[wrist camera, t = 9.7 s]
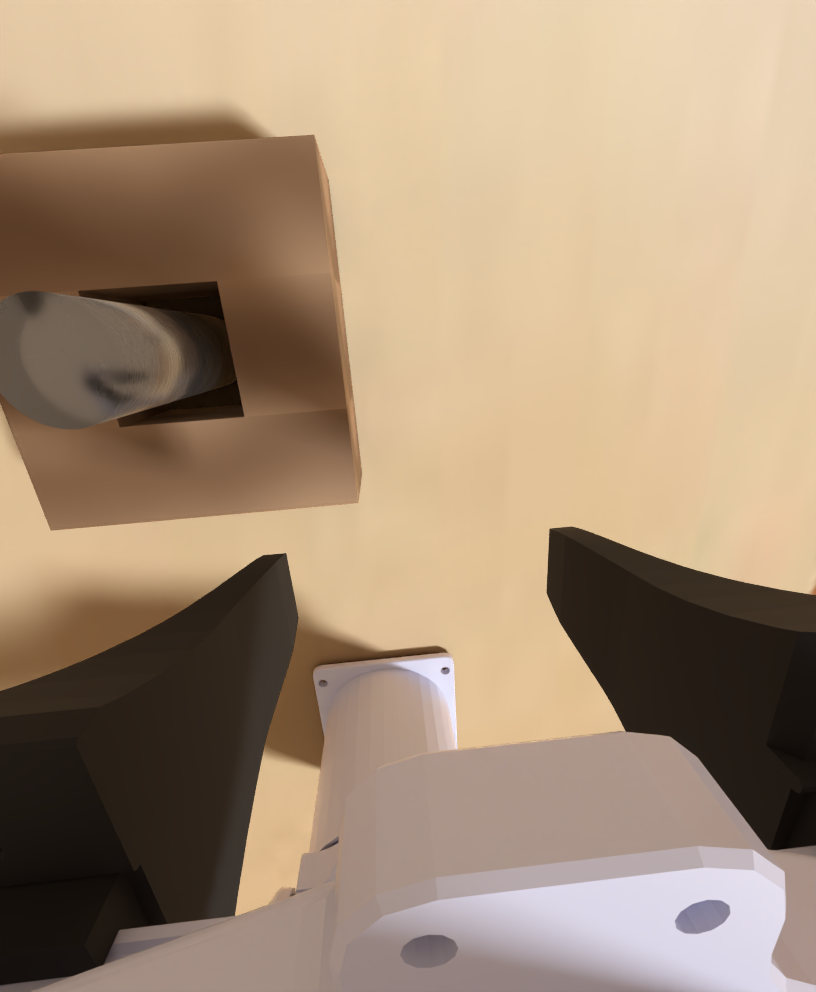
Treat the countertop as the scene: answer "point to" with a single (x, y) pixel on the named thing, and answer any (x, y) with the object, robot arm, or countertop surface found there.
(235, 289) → the wooden square frame
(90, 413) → the steel pin
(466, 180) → the countertop surface
